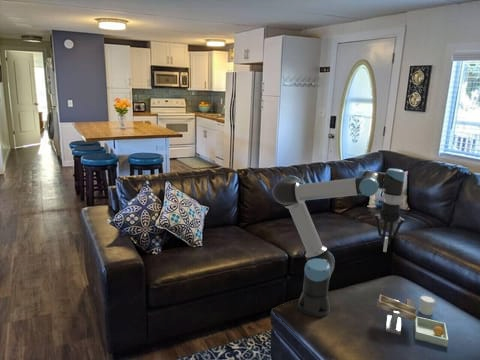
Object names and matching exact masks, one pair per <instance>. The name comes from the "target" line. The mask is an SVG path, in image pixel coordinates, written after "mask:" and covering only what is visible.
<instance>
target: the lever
mask: <svg viewBox="0 0 480 360" xmlns="http://www.w3.org/2000/svg"><path fill="white" fill-rule="evenodd" d="M396 300H397V299H393V298H390V297H388V296H385V295H382V294H381V293H380V294H379V296H378V299H377V303H376V304H377V305H376V306H377V308H380V309H382V310H384V311H387V312H389V313H394V311H397V312H399V315H398V317H400V318H401V317H402V318H404V319H406V320H408V321H411V322H415V319H416V317H417V316H418V315H416V311H417V308H415V302H414V300H412V299H410V298H406V300H405V303H406V304H405V303H403V302H401V301H399V300H398V301H399V302H398V301H396Z"/></svg>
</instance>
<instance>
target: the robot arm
mask: <svg viewBox="0 0 480 360" xmlns="http://www.w3.org/2000/svg"><path fill="white" fill-rule="evenodd" d="M404 183H405V171H404V170H403V169H399V168H392V167H391V168H388V169H387V170H386V172H382V171H381V172H380V171H372V170H366V169H365V170H364V169H362V170H359V171H358V176H357V177H352V178H343V179H334V180H328V181H327V180H326V181H319V182H308V183H307V182H306V183H303V181H302V180H301V179H300V178H299V177H297V176H295V175H287V176H285V177H282V179H281V180H279V181H278V182H276V183H275V184H274V186H273V188H272V196H273V199H274V200H275V202H277V203H279V204H281V205H283V207H285V208H286V209H288V210H289V213H290V215H291V217H292V218H291V219H292V221H293V223H294V225H295V227H296V229H297V231H298V234H299V236H300V240H301V242H302V244H303V246H304V248H305V251H306V253H305V259H306V261H307V262H306V263H305V264H304V274H303V285H302V286H303V287H302V292H301V294H300V297H299V299H298V302H297V308H298V310H299V311H300V312H301V313H302V314H304V315H306V316H309V317H314V318H321V317H322V318H323V317H326V316H327V315H328V314H329V313H330V309H331V305H330V301H329V296H328V294H329V287H330V286H329V285H330V279H331V276H332V275H333V272H334V269H335V265H336V264H335V263H336V261H335V257H334V255H333V253H331V252H330V251H329V250H328V248H327V246H325V245H323V244H322V241H321V238H320V236H319V234H318V231H317V229H316V227H315V223H314V222H313V219H312V217H311V214H310V212H309V210H308V207H307V204H306V203H305V202H306V201H312V200H320V199H332V198H341V197H342V198H344V197H351V196H362V195H363V196H365V197H372V196H374V195H376V193H378V191H379V190H384V192H383V198H382V201H383V202H382V204H381V211H380V213H378V214H377V213H376V214H375V215H374V219H375V221H376V227H377V234H378V237H381V245H383V248H382V249H383V250H382V252H384V253H387V250H388V246H390V245H391V241H392V239H396V237H397V236H398V232H399V230H400V228H401V226H402V225H403V224H404V223H405V219H404V218H402V217H401V215H400V210H401V204H402V203H401V202H402V195H403V189H404ZM381 219H382V220H383V222H384V223H383V230H382V225H381ZM396 221H398V222H397V225H396V227H395V229H394V231H393V227H394V223H395V222H396ZM388 223H389V229H388V230H389V231H388V236H386V234H387V225H388Z"/></svg>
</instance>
